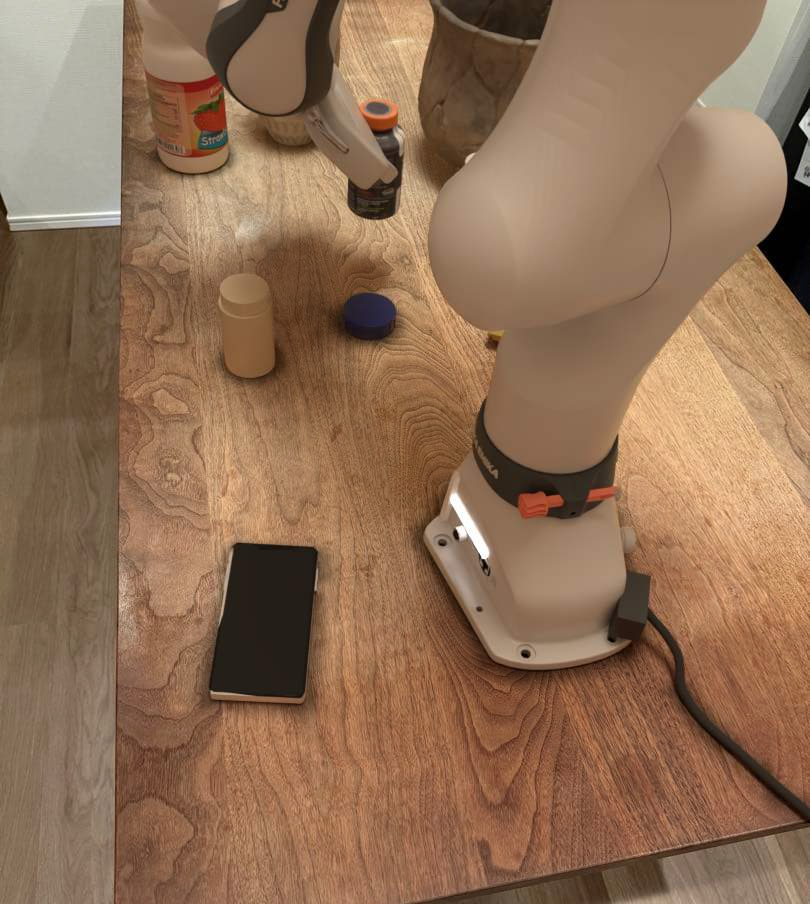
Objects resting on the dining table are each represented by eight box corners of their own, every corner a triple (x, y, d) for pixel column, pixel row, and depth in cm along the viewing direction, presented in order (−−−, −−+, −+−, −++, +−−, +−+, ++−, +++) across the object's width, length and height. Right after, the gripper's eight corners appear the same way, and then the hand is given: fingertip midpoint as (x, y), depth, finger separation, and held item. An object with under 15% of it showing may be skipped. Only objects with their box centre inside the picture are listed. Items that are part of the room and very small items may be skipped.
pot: (456, 100, 132) (476, -62, 115) (603, 147, 127) (647, -15, 110) (381, 178, 118) (391, 6, 101) (543, 235, 113) (583, 64, 96)
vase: (355, 145, 122) (363, -91, 100) (275, 168, 117) (264, -75, 95) (309, 103, 128) (306, -129, 105) (230, 123, 123) (210, -116, 100)
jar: (279, 375, 94) (275, 302, 86) (228, 380, 93) (219, 307, 85) (271, 341, 97) (267, 269, 89) (222, 346, 96) (213, 273, 88)
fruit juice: (167, 134, 120) (131, -108, 98) (235, 141, 120) (215, -99, 98) (150, 171, 115) (109, -77, 92) (222, 179, 115) (198, -66, 92)
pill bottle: (409, 204, 99) (419, 106, 90) (380, 229, 96) (387, 129, 87) (366, 185, 101) (371, 86, 92) (336, 208, 97) (338, 108, 88)
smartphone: (205, 693, 70) (230, 541, 79) (207, 700, 71) (231, 549, 80) (306, 698, 70) (320, 546, 79) (306, 704, 71) (320, 554, 80)
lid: (371, 298, 103) (372, 285, 101) (406, 325, 100) (407, 312, 99) (331, 319, 100) (331, 305, 98) (366, 347, 98) (367, 334, 96)
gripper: (340, 99, 77) (434, 189, 87) (288, -4, 88) (376, 87, 98) (291, 152, 79) (388, 234, 89) (246, 45, 90) (337, 129, 100)
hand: (381, 156), depth 94 cm, fingers closed on pill bottle, 6 cm apart
